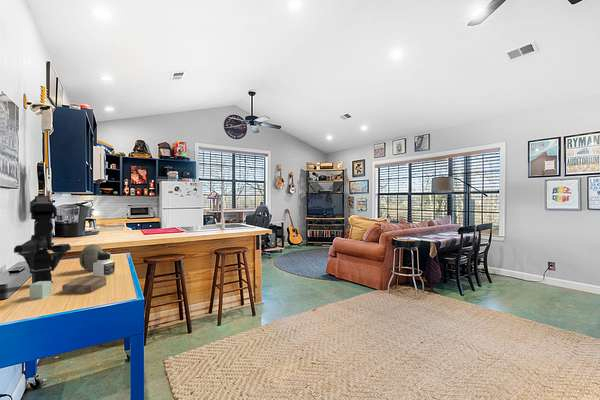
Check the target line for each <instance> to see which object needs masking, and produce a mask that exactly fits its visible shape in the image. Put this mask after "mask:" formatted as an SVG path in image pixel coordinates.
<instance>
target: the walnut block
mask: <svg viewBox="0 0 600 400" xmlns="http://www.w3.org/2000/svg"><path fill="white" fill-rule="evenodd" d="M105 286H107V276H106V277H78V278H76V279H74V280H72V281H69V282H67V283H64V284H63V285H61V287H62V288H61V289H62V292H61V293H62V294H92V293H94V292H96V291H97V290H99V289H101V288H103V287H105Z"/></svg>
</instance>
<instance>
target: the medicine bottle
mask: <svg viewBox="0 0 600 400" xmlns="http://www.w3.org/2000/svg"><path fill="white" fill-rule="evenodd" d="M111 257H112V255H111V252H104V253H100V254H98V255H97V261H98V262H96V263H93V271H92V276H93V277H97V278H102V277H106V278H107V277H109V276H111V275H115V272H116V271H115V269H116V267H115V266H116V265H115V264H116V263H115V260H111V259H112V258H111Z"/></svg>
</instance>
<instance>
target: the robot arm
mask: <svg viewBox="0 0 600 400" xmlns="http://www.w3.org/2000/svg"><path fill="white" fill-rule="evenodd" d="M29 213H30V219H31V220H34V221H33V234H32V235H31V236H30V239H29V240H27V241H25V242H24V243H22V244H18V245H15V247H14V248H13V254H17V256H21V257H23V259H24V260H25V261H26V264H27V266H28V268H29V274H31V284H33V283H36V282H38V281H51V284H52V283H54V280H52V275H53V274H52V273H51V272H54V271H55V269H56V268H57V266H58V265H59V263H60V261H61V259H62V258H63V256H64V254H65V253H68V251H71V245H70V244H69V243H59V244H55V242H53V241H52V240H53V237H54V236H55V233H53V232H52V231H53V230H54V224H53V222H52V219H56V217H58V213H57V207H56V205H54V203H53V201H52V200H51V199H50V197H49V195H36V196H35V195H34V198H33V199H32V200H31V201H29ZM49 251H51V253H50V252H49ZM28 287H30V284H29V286H28Z"/></svg>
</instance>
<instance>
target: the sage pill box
mask: <svg viewBox="0 0 600 400" xmlns="http://www.w3.org/2000/svg"><path fill="white" fill-rule="evenodd" d="M29 285H30V286H29V299H30V300H33V299H34V300H37V299H38V300H39V299H41V300H42V299H45V298H48V297H49V296H51V295H52V283H51V281H38V282H36V283H33V284H32V283H29Z"/></svg>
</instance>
